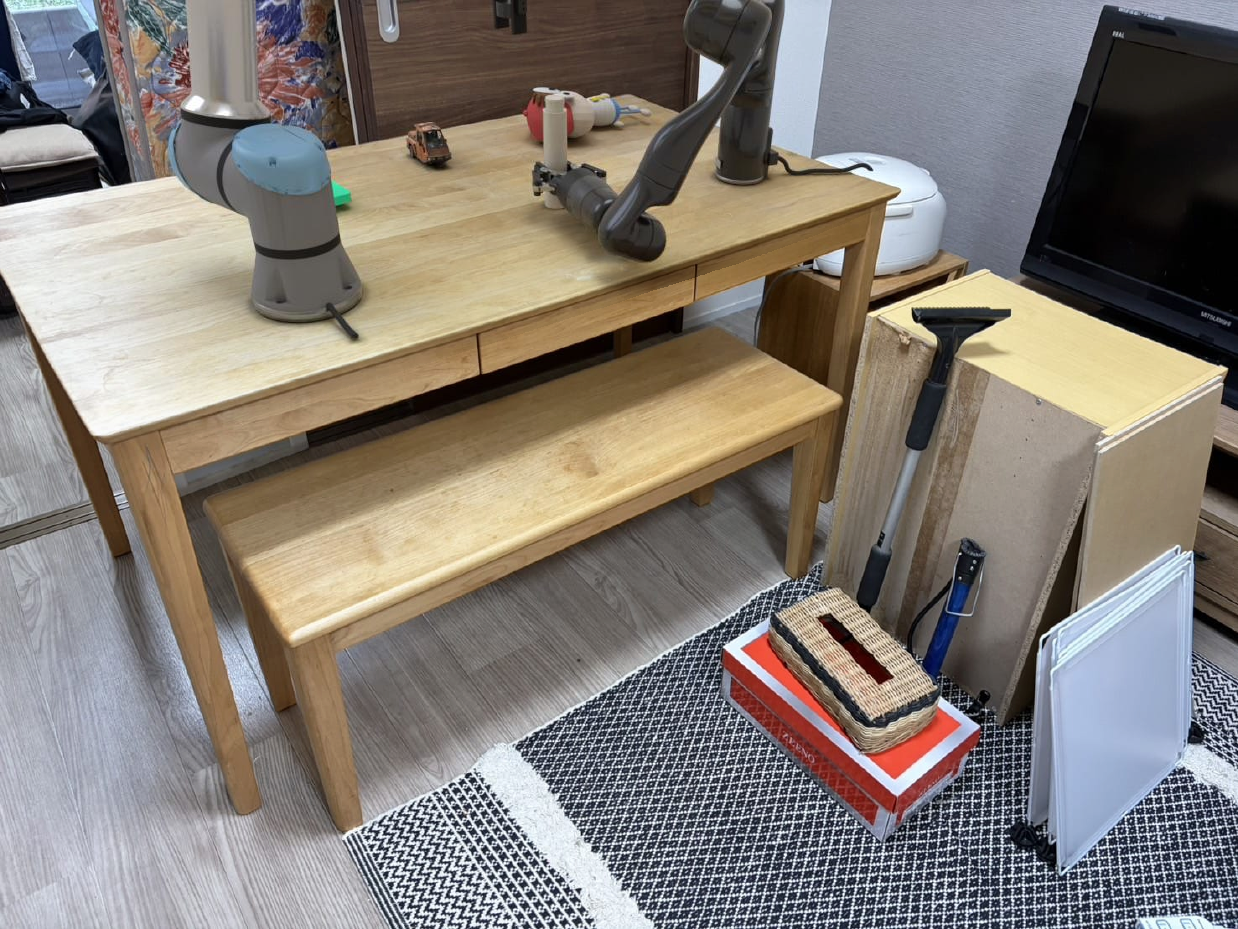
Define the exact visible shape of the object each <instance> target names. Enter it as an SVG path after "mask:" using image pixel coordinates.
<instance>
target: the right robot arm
mask: <svg viewBox="0 0 1238 929" xmlns="http://www.w3.org/2000/svg"><path fill="white" fill-rule="evenodd" d="M785 10H786V0H691V2H690V4H689V6H688V8H687V10H686V13H685V17H684V20H683V27H682V36H683V41H684V43H685V45H686V46H687V47H688V48H689V49H690V50H692V51H693V52H695V53H696V54H698V55H700V56H702V57H704V58H705V59H707V60H709V61H711V62H713V63H714V64H717V65H719V66H721V67H722V68H723V71H722V72H721V75H720V76H719V77H718V79H717V80H716V82H715V83H714V85H713V86H712V87H711V88H710V89H709V90H708V91H707V92H706V93H705V94H704V95H703V96H702V97H700V98H699V99H698V100H697V101H695V102H694V103H693V104H691V105H690V106H688V107H687V108H685V109H684V110H682V111H681V112H679V113H678V114H676V115H675V116H673V117H672V118H671V119H669V120H668V121H666V122H665V123H664V124H663V125H662V126H661V127H660V128H659V129H658V130H657V131H656V132H655V134H654V135H653V136H652V138H651V140H650V141H649V143H648V145H647V147H646V150H645V151H644V154H643V156H642V158H641V160H640V162H639V164H638V167H637V169H636V171H635V173H634V176H633V177H632V178H631V180H630V181H629V182H628V183H627V185H626V186H625V187H624V188H623V190H622V191H621V193H620V194H618V193H617V192H616V191H614V190H613V188H612V187H611V185H610V184H608V182H607V176H608V175H607V170H604V169H601V168H599V167H596V166H594V165H591V164H589V163H585V162H584V163H581V164H580V165H578V164H577V163H575V162H572V161H570V160H568V159H567V173H566V172H561V171H559V170H556V169H548V168H547V167H546V166H545V165H544V163H543V162H541V161H535V164H533V170H531V176H532V181H531V182H532V190H533V196H534V197H540V196H542V194H544V193H545V191H549V192H550V193H551V194H552V195H555V196H557V197H558V199H559V201H560V203H561V205H562V206H563V207H564V208H563V209H565V210H566V211H567V212H568V213H570V215H572V216H573V217H574V218H575V219H576V220H577V221H578V222H579V223H580V224H582V225H584V226H586V227H587V228H588V229H589V230H591V231H592V232H593V233H594V234H595V235H596V236H597V241H598V244H599V246H600V248H601V249H602V251H604V252H605V253H607V254H610V255H613V256H615V257H620V258H623V259H626V260H630V261H633V262H637V263H640V264H649V263H652V262H654V261H657V260H658V259H659V258H660V257H661V256H662V255H663V253H664V252H665V249H666V247H667V242H668V241H667V231H666V229H665V227H664V225H663V224H662V222H661V221H660V220H659V218H656V216H654V215H652V214H650V213H649V212H646V211H647V210H648V209H650V208H653V207H660V208H662V207H670V206H672V204H674V202H675V201H676V199H677V197H678V195H679V194H680V191H681V190H682V187H683V185H684V183H685V181H686V179H687V177H688V175H689V173H690V170H691V169H692V166H693V164H694V163H695V161H696V159H697V157H698V155H699V153H700V151H701V150H702V147H703V146H704V144H705V142H706V141H707V139H708V138H709V136H710V135H711V133H712V131H713V130H714V128H715V126H717V124H718V122H719V132H718V143H717V154H716V156H715V157H714V165H715V172H714V176H715V178H717V180H719V181H722V182H724V183H727V184H732V185H739V186H740V185H743V186H745V185H746V186H747V185H753V184H758V183H760V182H762V181H763V180H766V179H768V175H769V168H770V167H771V166H777V165H778V162H780V163H781V164H782V165H783V167H784V170H785V171H786V173H787V174H789V175H791V176H803V175H809V174H843V173H848V172H852V171H855V170H857V169H860V168H861V169H862V168H863V169H866V170H867V171H868V172H874V168H873V167H872V166H871V165H870V164H868V163H866V162H859V163H855V164H853V165H850V166H847V167H841V168H808V169H803V170H794V169H791V168H790V166H789V162H788V161H787V160H786V159H785V158H784V157H783V156H781V155H780V153H779V152H778V151H776V150H774V149H773V148H772V145H773V144H772V143H773V135H774V129H773V127H771V126H770V123H771V115H772V106H773V99H774V98H773V97H774V88H775V82H776V81H775V80H776V71H777V63H778V62H777V61H778V54H779V48H780V42H781V36H782V32H783V31H782V30H783V25H784V19H785Z"/></svg>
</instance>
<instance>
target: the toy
mask: <svg viewBox="0 0 1238 929" xmlns="http://www.w3.org/2000/svg"><path fill="white" fill-rule="evenodd" d="M532 91H533V94H532V98H531V100H529V103H528V105H527V108H526V109H524V110H523V112H522V115H523V116H524V117H525V118H526V123H527V126H528V129H529V131H530V133H531V136H532V137H533V139H534V140H535V141H537V142H541V143H544V141H543V109H544V108H545V97H546V96H548V95H561V96H563V97H564V101H565V103H564V108H566V109H567V138H570V139H573V138H579V137H583V136H585V135H586V134H587V133H589V132H590V131H591V130H592V128H593V126H596V127H597V126H598V127H605V126H609V125H612V124H613V126H615V127H618V128H621V127H623V126H624V122H623V121H619V118H620V115H621V114H622V115H626V114H627V115H630V114H640V115H642V116H643V117H647V118H648V117H651V116H652V111H651V110H650V109H648V108H639V106H637V105H634V104H629V105H628V106H623V107H620V105H619V103H617V102H616V100H614V99H612V98H611V95H610V94H609V93H605V92H604V93H601V94H599V95H598V94H597V95H593V96H590V97H587V98H586V95H583V94H580V93H578V92H575V91H570V90H559V89H557V88H554V87H543V86H542V87H534V88H533V89H532Z"/></svg>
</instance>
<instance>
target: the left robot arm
mask: <svg viewBox="0 0 1238 929" xmlns="http://www.w3.org/2000/svg"><path fill="white" fill-rule="evenodd" d="M496 1H497V0H491V4H492V12H493V29H495V30H499V29H506V28H510V26H511V35H512V36H513V35H514V36H515V35H516V36H517V35H523V34H527V33H528V24H527V20H528V19H527V13H528V0H510V4H511V18H501V17H498V16H497V10H496ZM185 9H186V25H187V26H186V27H187V39H188V40H187V41H188V57H189V72H190V73H189V74H190V85H191V86H190V90H191V91H190V94H189V95H188V96H186V98H184V99H183V101H182V102H180V107H179V108H180V119H179V120H178V122H177V123H176V126H175V128H174V129H172V130H171V131H170V135H169V138H168V143H167V154H168V161H169V163H170V166H171V170H172V171H173V173H174V175H175V176H176V178H177V179H178V181H179V182H180V183H181V184H182V185H183V186H184V187H185V188H186V189H188V191H190V192H192V193H193V194H195V195H197V196H198V197H199V199H202V200H204V201H205V202H208V203H210V204H213V205H217V206H220V207H222V208H224V209H227V210H229V211H231V212H233V213H236V214H238V215H240V216H243V217H245V218H247V221H248V224H249V228H250V234H251V237H252V238H251V239H252V242H253V247H254V251H255V258H254V264H253V273H252V283H251V291H250V292H251V299H252V303H253V307H254V309H255V310H256V311H257V313H259V314H260V315H262V316H264V317H266V318H268V319H271V320H275V321H281V322H289V323H304V322H314V321H315V322H316V321H320V320H326V319H330V318H332V317H334V319H335V320H336V321H337V322H338V324H339V325H340V326H341V328H342V329H343V330H344V331H345V333H346V334H348V336H349V337H351V338H352V339H353V340H357V339H359V336H360V334H359V333H358V332H356V331H355V329H353V328H352V327H351V326H350V324H349V323H348V322H347V321H346V319H345V318H344V316H342V314H343V313H345V312H348V311H349V310H351V309H353V308H354V307H355V306H356V305H357V304H358V303H359V302H360V301H361V298H362V297H363V287H362V282H361V278H360V276H359V274H358V272H357V270H356V268H355V266H354V264H353V263H352V261H351V259H350V257H349V255H348V253H347V251H346V250H345V248H344V245H343V243H342V239H341V233H340V225H339V220H338V213H337V207H336V206H335V200H334V194H333V188H332V181H333V180H332V168H331V165H330V162H329V157H328V154H327V152H326V148H325V145H324V144H323V142H322V140H321V139H320V138H319V137H318V136H317V135H316V134H314V133H313V132H311V131H309V130H307V129H305V128H303V127H300V126H296V125H292V124H288V125H282V124H281V123H272V113H271V111H270V109H268V107H267V106H266V105H265V104H264V103H263V102H262V101H261V99H260V90H259V60H258V59H259V58H258V57H259V56H258V32H257V30H258V29H257V28H258V27H257V1H256V0H185ZM510 23H511V24H510Z"/></svg>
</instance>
